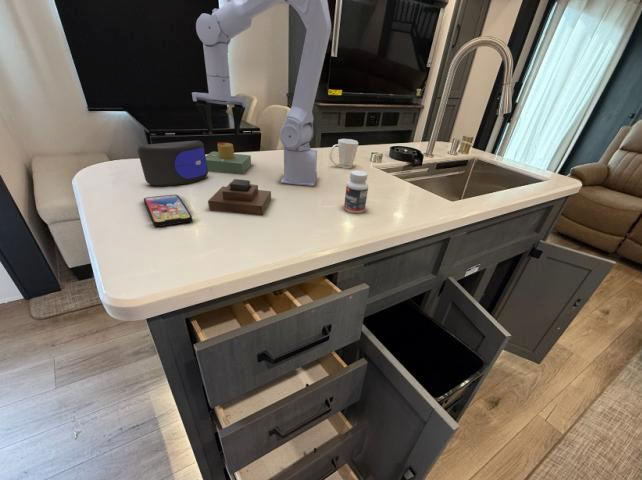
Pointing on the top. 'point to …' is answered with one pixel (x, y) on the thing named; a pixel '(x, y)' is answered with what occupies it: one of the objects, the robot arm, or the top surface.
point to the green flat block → (228, 163)
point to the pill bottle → (356, 192)
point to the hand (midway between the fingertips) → (223, 133)
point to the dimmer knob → (225, 150)
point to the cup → (345, 152)
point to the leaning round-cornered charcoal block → (173, 162)
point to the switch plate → (240, 200)
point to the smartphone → (167, 210)
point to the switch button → (240, 185)
